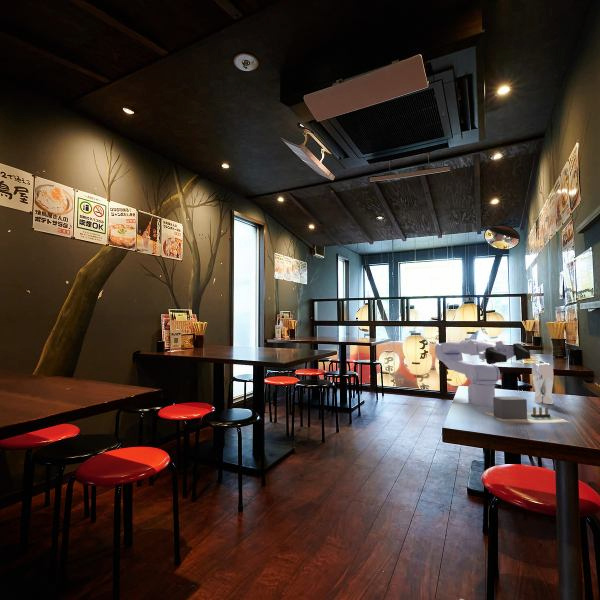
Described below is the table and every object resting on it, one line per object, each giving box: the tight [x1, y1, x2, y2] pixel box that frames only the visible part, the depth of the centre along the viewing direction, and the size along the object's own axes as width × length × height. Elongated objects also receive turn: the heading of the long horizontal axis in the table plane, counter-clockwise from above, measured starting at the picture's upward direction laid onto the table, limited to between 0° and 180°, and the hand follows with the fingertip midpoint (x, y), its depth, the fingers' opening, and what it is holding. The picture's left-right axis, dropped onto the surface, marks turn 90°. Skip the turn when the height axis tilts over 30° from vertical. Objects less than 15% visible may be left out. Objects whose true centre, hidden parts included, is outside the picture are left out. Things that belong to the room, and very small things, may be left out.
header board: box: [485, 406, 570, 424], centre depth 112 cm, size 12×20×4 cm, turn 93°
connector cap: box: [492, 395, 528, 419], centre depth 112 cm, size 4×8×6 cm, turn 93°
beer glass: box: [531, 362, 555, 405], centre depth 139 cm, size 7×7×15 cm
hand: (517, 357), depth 111 cm, fingers open, 7 cm apart
